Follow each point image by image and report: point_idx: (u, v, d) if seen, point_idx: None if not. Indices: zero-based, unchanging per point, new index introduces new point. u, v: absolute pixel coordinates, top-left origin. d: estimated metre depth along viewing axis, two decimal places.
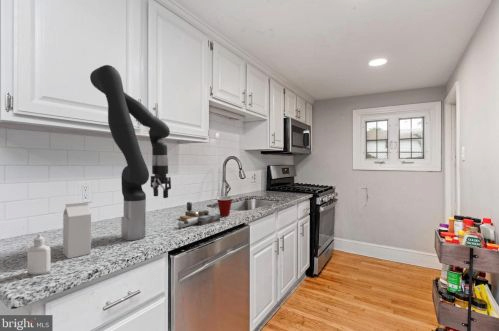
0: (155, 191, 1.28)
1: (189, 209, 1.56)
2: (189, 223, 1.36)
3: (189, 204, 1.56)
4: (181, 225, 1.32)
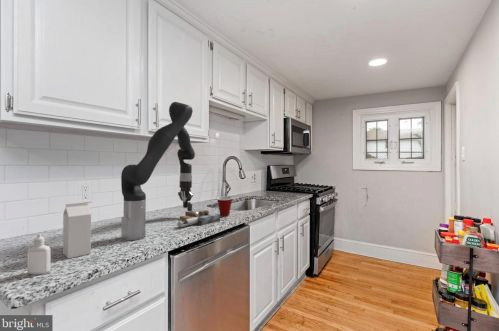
0: None
1: (189, 209, 1.56)
2: (189, 223, 1.36)
3: (189, 204, 1.55)
4: (180, 225, 1.32)
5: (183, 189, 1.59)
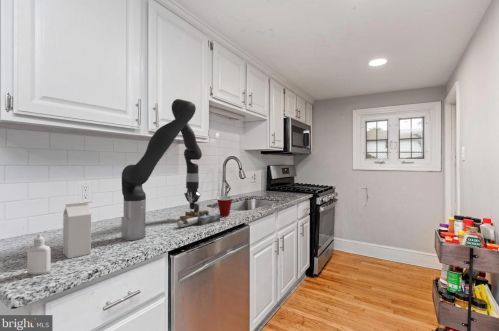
0: None
1: (196, 210, 1.52)
2: (189, 223, 1.36)
3: (196, 205, 1.51)
4: (180, 225, 1.32)
5: (190, 190, 1.55)
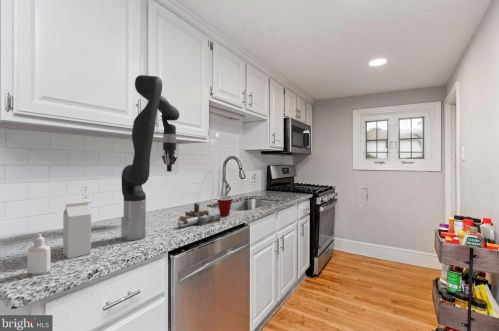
0: None
1: (196, 211, 1.51)
2: (189, 223, 1.36)
3: (196, 205, 1.51)
4: (180, 225, 1.32)
5: (167, 151, 1.49)
